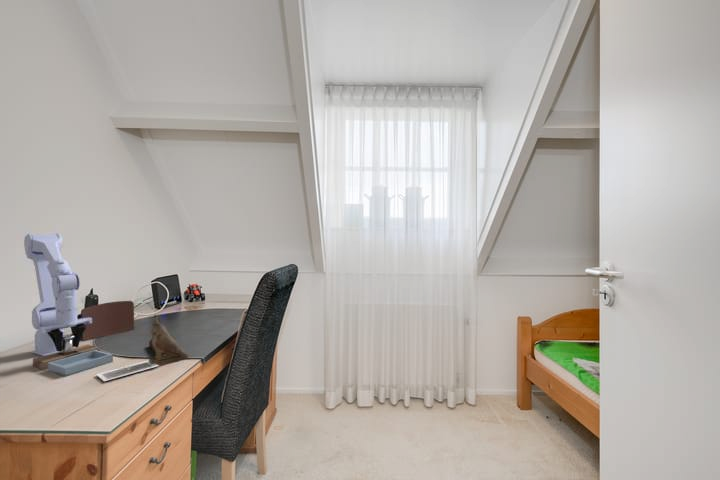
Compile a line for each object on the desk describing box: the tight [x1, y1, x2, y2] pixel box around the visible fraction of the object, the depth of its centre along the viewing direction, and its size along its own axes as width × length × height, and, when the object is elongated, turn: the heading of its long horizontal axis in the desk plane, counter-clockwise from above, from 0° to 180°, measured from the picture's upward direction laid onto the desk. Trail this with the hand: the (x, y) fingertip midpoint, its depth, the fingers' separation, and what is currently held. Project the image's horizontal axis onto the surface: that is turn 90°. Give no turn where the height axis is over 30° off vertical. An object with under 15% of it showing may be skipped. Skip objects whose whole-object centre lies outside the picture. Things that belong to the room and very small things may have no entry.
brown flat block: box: [32, 344, 101, 371], centre depth 122 cm, size 8×16×2 cm, turn 154°
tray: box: [47, 350, 114, 377], centre depth 116 cm, size 11×14×2 cm
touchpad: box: [95, 359, 160, 382], centre depth 111 cm, size 8×15×2 cm, turn 141°
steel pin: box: [62, 333, 76, 356], centre depth 122 cm, size 4×4×8 cm
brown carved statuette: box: [148, 314, 189, 366], centre depth 120 cm, size 12×6×18 cm, turn 125°
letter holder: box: [77, 300, 136, 342], centre depth 153 cm, size 10×20×14 cm, turn 148°
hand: (67, 348), depth 122 cm, fingers closed on steel pin, 4 cm apart
